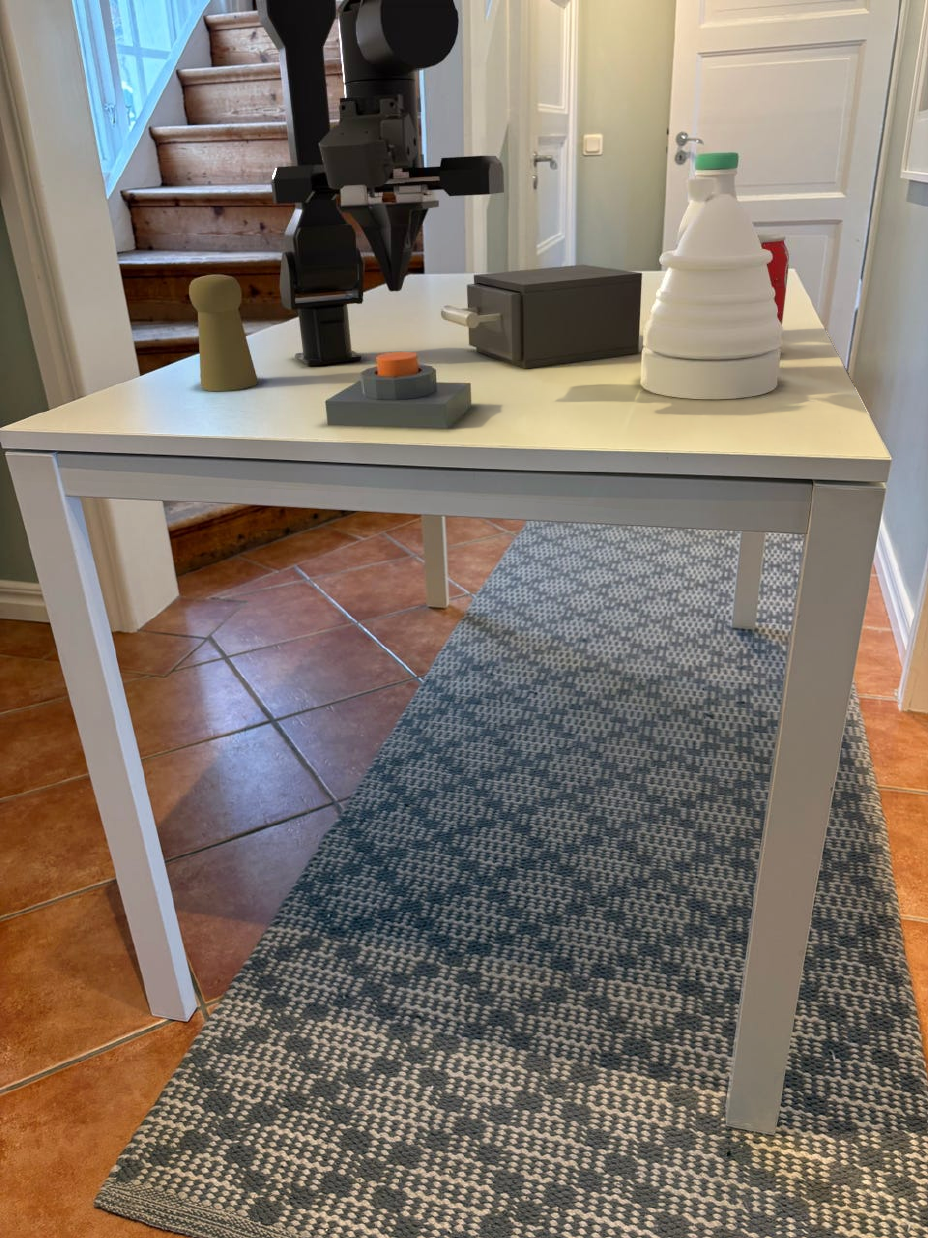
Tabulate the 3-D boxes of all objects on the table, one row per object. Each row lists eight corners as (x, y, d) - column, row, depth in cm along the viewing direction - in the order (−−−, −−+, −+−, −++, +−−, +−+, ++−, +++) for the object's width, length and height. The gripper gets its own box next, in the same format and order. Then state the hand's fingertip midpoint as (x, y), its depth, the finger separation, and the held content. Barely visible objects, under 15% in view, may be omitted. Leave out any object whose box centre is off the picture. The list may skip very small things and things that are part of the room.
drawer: (476, 365, 95) (473, 298, 92) (435, 349, 105) (431, 287, 102) (618, 346, 101) (621, 282, 98) (568, 332, 111) (568, 274, 108)
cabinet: (524, 368, 97) (524, 284, 93) (476, 350, 107) (473, 274, 104) (638, 353, 102) (642, 272, 98) (581, 337, 112) (582, 264, 109)
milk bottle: (744, 336, 109) (762, 150, 100) (724, 347, 103) (741, 151, 94) (683, 332, 113) (695, 153, 103) (660, 343, 107) (671, 154, 98)
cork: (208, 393, 92) (189, 280, 87) (195, 383, 97) (176, 275, 92) (265, 385, 95) (249, 275, 90) (250, 376, 100) (234, 270, 95)
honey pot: (627, 395, 84) (636, 182, 76) (654, 367, 95) (664, 178, 87) (770, 402, 80) (796, 177, 72) (782, 372, 90) (805, 172, 82)
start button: (372, 379, 78) (370, 359, 77) (386, 371, 81) (384, 351, 81) (411, 380, 77) (409, 359, 77) (424, 371, 80) (422, 351, 80)
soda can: (781, 361, 95) (796, 238, 90) (713, 361, 96) (723, 240, 91) (775, 348, 101) (788, 233, 96) (710, 348, 103) (719, 235, 97)
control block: (327, 425, 79) (322, 379, 77) (361, 403, 86) (357, 360, 84) (446, 429, 76) (444, 382, 74) (471, 406, 83) (470, 362, 81)
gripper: (225, 84, 67) (256, 304, 74) (466, 64, 62) (475, 302, 69) (289, 94, 76) (311, 288, 83) (502, 77, 72) (507, 284, 78)
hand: (395, 290), depth 78 cm, fingers closed
